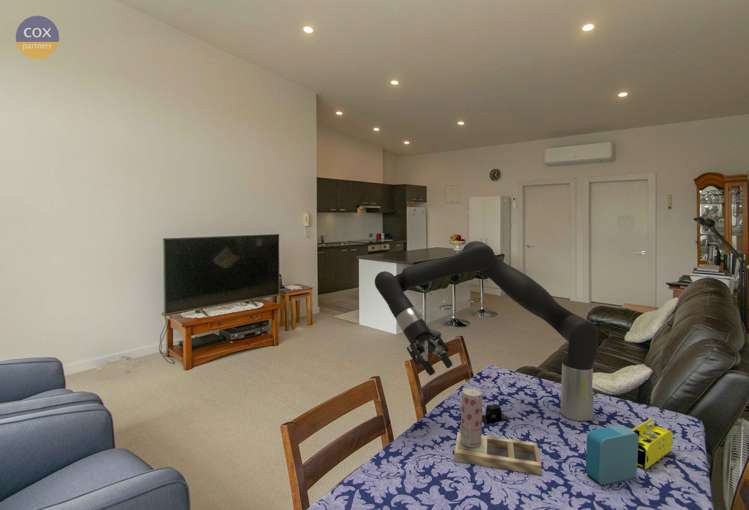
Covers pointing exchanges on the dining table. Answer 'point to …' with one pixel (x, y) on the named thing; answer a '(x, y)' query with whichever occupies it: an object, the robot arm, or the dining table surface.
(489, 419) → the black open box
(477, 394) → the beverage can
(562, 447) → the dining table surface
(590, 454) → the data package
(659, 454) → the yellow toy chassis
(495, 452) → the board
